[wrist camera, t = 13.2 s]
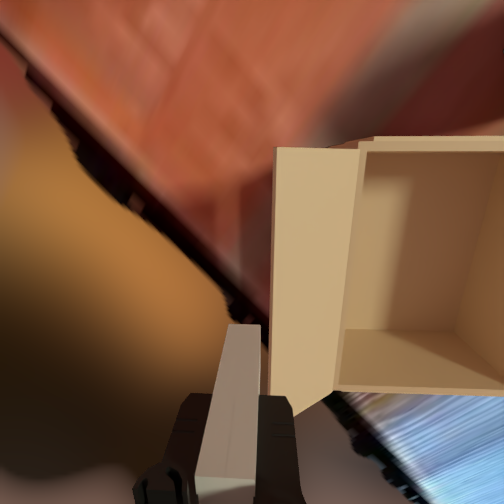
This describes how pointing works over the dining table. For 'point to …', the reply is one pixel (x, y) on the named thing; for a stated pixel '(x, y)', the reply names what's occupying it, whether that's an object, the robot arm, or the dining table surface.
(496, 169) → the carton
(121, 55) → the dining table surface
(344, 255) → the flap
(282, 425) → the robot arm
